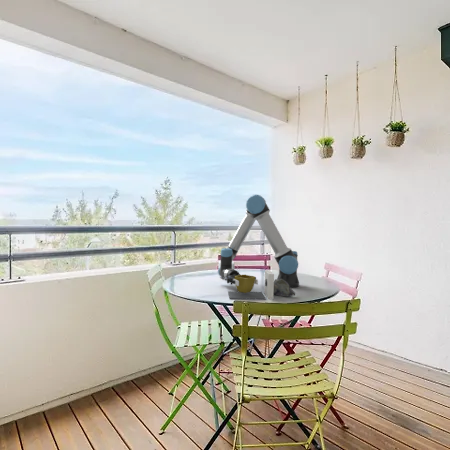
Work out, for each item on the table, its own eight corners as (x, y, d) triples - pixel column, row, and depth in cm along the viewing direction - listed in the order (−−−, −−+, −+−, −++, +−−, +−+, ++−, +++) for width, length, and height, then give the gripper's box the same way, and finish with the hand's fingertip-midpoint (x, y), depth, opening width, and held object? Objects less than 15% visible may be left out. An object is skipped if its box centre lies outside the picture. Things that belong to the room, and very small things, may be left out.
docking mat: (261, 293, 198) (261, 291, 198) (265, 299, 184) (265, 297, 184) (228, 292, 197) (228, 291, 197) (229, 299, 183) (229, 297, 183)
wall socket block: (269, 293, 197) (270, 270, 197) (273, 299, 185) (274, 274, 185) (263, 293, 197) (264, 270, 197) (267, 299, 185) (267, 274, 185)
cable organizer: (234, 279, 238) (235, 262, 238) (219, 279, 237) (220, 262, 236) (231, 275, 253) (231, 259, 253) (217, 275, 252) (217, 259, 251)
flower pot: (243, 289, 197) (243, 274, 196) (255, 291, 191) (255, 276, 191) (233, 291, 190) (234, 276, 189) (246, 294, 184) (246, 278, 184)
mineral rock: (296, 298, 189) (297, 280, 189) (279, 299, 185) (280, 281, 185) (284, 292, 201) (285, 276, 201) (268, 294, 197) (269, 277, 197)
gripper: (248, 280, 212) (266, 288, 191) (214, 282, 202) (228, 290, 182) (249, 268, 211) (266, 275, 191) (214, 270, 202) (228, 277, 182)
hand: (247, 282), depth 187 cm, fingers closed on flower pot, 11 cm apart
